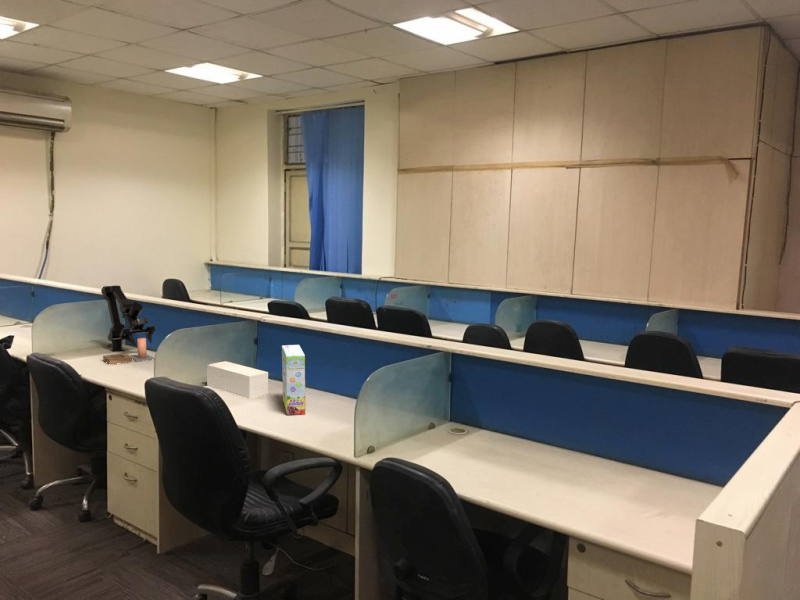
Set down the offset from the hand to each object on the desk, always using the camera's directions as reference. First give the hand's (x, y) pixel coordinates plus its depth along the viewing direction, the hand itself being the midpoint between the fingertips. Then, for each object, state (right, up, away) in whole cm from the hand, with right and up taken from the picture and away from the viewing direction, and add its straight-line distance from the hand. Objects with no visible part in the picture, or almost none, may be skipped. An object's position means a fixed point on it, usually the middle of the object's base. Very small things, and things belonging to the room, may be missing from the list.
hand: (143, 343), depth 354 cm
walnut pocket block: (-12, -10, -6) cm, 16 cm away
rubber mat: (-1, -9, +2) cm, 9 cm away
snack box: (+98, -22, -81) cm, 129 cm away
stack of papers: (+67, -18, -55) cm, 89 cm away
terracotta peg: (-1, -8, +2) cm, 8 cm away
